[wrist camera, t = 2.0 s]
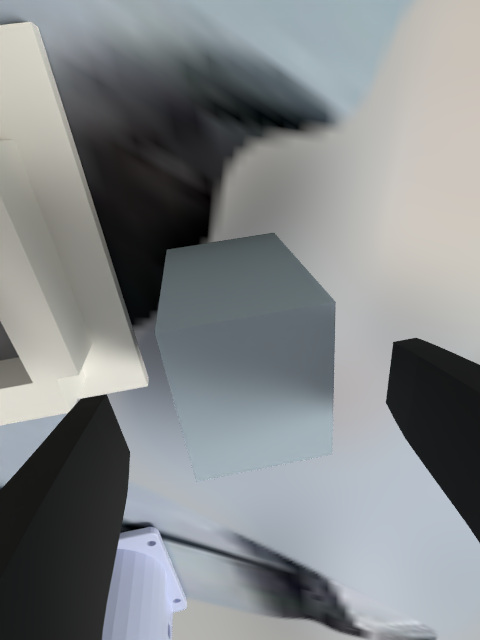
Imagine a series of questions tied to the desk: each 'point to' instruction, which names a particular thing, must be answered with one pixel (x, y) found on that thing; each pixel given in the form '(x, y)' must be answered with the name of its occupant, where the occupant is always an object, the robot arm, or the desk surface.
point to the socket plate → (52, 253)
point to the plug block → (247, 354)
